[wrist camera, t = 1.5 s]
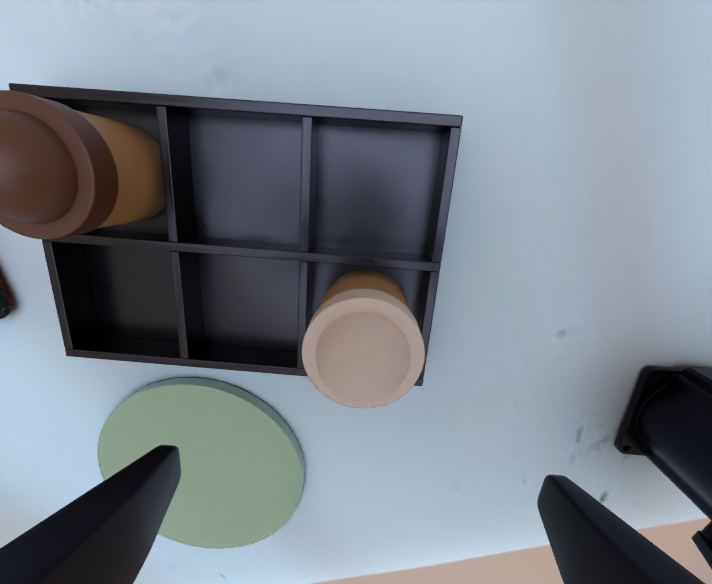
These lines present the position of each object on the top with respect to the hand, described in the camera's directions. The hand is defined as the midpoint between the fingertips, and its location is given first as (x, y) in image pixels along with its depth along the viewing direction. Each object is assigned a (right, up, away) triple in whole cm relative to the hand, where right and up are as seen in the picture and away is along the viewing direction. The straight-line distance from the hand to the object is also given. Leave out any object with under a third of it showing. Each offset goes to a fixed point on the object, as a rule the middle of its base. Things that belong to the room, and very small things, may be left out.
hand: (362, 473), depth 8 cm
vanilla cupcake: (0, +3, +12) cm, 13 cm away
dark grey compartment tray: (-6, +7, +12) cm, 15 cm away
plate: (-11, -9, +17) cm, 22 cm away
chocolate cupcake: (-13, +11, +11) cm, 20 cm away
